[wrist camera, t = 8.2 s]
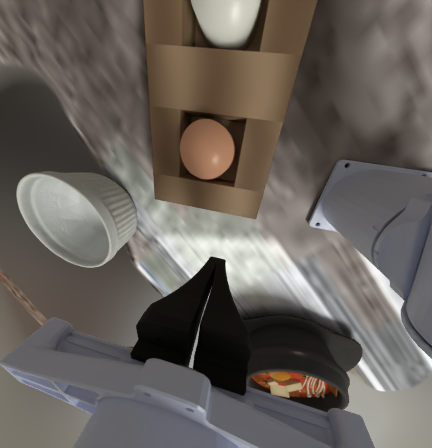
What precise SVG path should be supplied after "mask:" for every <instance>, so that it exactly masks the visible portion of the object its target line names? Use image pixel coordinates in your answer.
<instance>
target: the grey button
mask: <svg viewBox="0 0 432 448" xmlns="http://www.w3.org/2000/svg"><path fill="white" fill-rule="evenodd" d="M261 1H262V0H191V3H192V6H193V9H194V12H195V14H196V17H197V19H198V22H199V24H200V27H201V29H202V32H203V34H204V37H205V39H206V42H207V44H208V46H209V47H210V48H214V49H227V50H241V51H245V50H246V49H247V48H248V47H249V45H250V44H251V42H252V41H253V39H254V37H255V34H256V32H257V29H258V26H259V21H260V13H261Z"/></svg>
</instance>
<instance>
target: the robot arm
mask: <svg viewBox="0 0 432 448" xmlns="http://www.w3.org/2000/svg"><path fill="white" fill-rule="evenodd" d="M346 163H348V166H347V167H346V168H345V167H344V166H345V164H346ZM421 175H423V176H421ZM316 223H319V224H318V225H316ZM309 225H310V226H311V227H315V228H320V229H325V230H330V231H335V232H339V233H340V234H341V235H342V236H343V237H344V238H345V239H346V240H348V241H349V242H350V243H351V244H352V245H353V246H354V247H355V248H356V249H357V250H358V251H359V252H360V253H361V254H362V255H363V256H365V257H366V258H367V259H368V260H369V261H370V262H371V263H372V264H373V265H374V266H375V267H376V268H377V269H379V270H380V272H381V273H383V274H384V275H385V276H386V277H387V278H388V279H389V281H390V287H391V288H392V289H393V290H394V291H395V292H396V293H397V294H398V295H399V296H400V297H401V298H402V299H403V300H405V301H404V304H403V306H402V308H401V318H402V322H403V324H404V327H405V329H406V330H407V332H408V333H409V335H410V336H411V338H412V339H413V340H414V341H415V342H416V344H417V345H418V346H419V347H420V348H421V349H422V350H423V351H424V352H425V353H426V354H427V355H428V356H429V357H430V358H432V172H426V171H419V170H412V169H406V168H399V167H392V166H385V165H378V164H371V163H364V162H358V161H351V160H344V159H342V160H339V161H337V162H336V164H335V166H334V168H333V171H332V173H331V175H330V177H329V179H328V181H327V183H326V186H325V188H324V190H323V192H322V194H321V196H320V198H319V201H318V203H317V205H316V207H315V209H314V211H313V214H312V216H311V218H310V220H309ZM225 262H226V261H225V260H224V259H220V258H216V257H210V258H209V260H208V261H207V262H206V264H205V265H204V266H203V267H202V268H201V269H200V271H199V272H198V273H197V274H196V275H195V276H193V277H192V278H191V279H190V280H189V281H188V282H187V283H185V284H184V285H183V286H181V287H180V288H179V289H177V290H176V291H174V292H172V293H171V294H169V295H168V296H166V297H164V298H162V299H160V300H158V301H156V302H154V303H152V304H151V305H150V306H149V307H148V309H147V310H146V311H145V312H144V314H143V315H142V317H141V319H140V320H139V322H138V324H137V325H136V329H137V334H138V341H137V343H136V345H135V346H134V348H133V349H131V348H128V347H125V346H121V345H118V344H115V343H112V342H109V341H106V340H103V339H100V338H97V337H94V336H91V335H88V334H85V333H81V332H78V331H75V330H73V327H72V325H71V324H70V323H69V322H67V321H63V320H61V319H57V318H54V317H53V318H51V319H49V320H48V321H47V322H46V323H45V324H44V325H42V326H41V327H40V328H39V329H38V330H37V331H35V332H34V333H33V334H32V335H31V336H30V337H28V338H27V339H26V340H25V341H24V342H23V343H22V344H20V345H19V346H18V347H17V348H16V349H14V350H13V351H12V352H11V353H10V354H9V355H7V356H6V357H5V358H4V359H3V360H2V361H0V365H1V366H2V367H3V368H5V369H6V370H7V371H8V372H9V373H10V374H11V375H13V376H14V377H15V378H16V379H17V380H19V381H20V382H21V383H23V384H26V385H28V386H31V387H33V388H36V389H38V390H40V391H43V392H45V393H47V394H49V395H52V396H54V397H56V398H58V399H60V400H62V401H65V402H67V403H69V404H71V405H73V406H75V407H78V408H80V409H82V410H84V411H86V412H88V413H90V414H92V416H91V418H90V419H89V421H88V423H87V424H86V426H85V428H84V429H83V431H82V433H81V435H80V436H79V438H78V440H77V441H76V443H75V445H74V447H73V448H375V447H374V445H373V442H372V440H371V438H370V435H369V433H368V431H367V428H366V426H365V423H364V421H363V419H362V417H361V416H360V415H357V414H354V413H351V412H348V411H345V410H342V409H338V408H332V409H330V410H329V411H328V412H324V411H321V410H318V409H315V408H312V407H309V406H306V405H303V404H300V403H297V402H293V401H290V400H287V399H284V398H281V397H278V396H275V395H272V394H269V393H266V392H263V391H260V390H257V389H254V388H250V387H247V386H246V374H247V372H248V362H249V360H250V358H251V356H252V346H251V340H250V335H249V331H248V329H247V328H246V326H245V324H244V322H243V320H242V318H241V317H240V315H239V312H238V310H237V308H236V306H235V303H234V301H233V298H232V295H231V292H230V289H229V285H228V281H227V276H226V268H225ZM211 288H212V289H211ZM210 291H211V292H210ZM209 293H210V295H209ZM208 296H209V299H208ZM207 299H208V302H207V305H206V308H205V311H204V314H203V317H202V313H203V310H204V307H205V304H206V301H207ZM201 317H202V320H201ZM200 320H201V323H200ZM199 324H200V330H199V337H198V344H197V347H196V351H195V355H194V364H193V369H192V368H189V367H188V366H189V362H190V359H191V355H192V351H193V347H194V343H195V339H196V335H197V332H198V328H199Z"/></svg>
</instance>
